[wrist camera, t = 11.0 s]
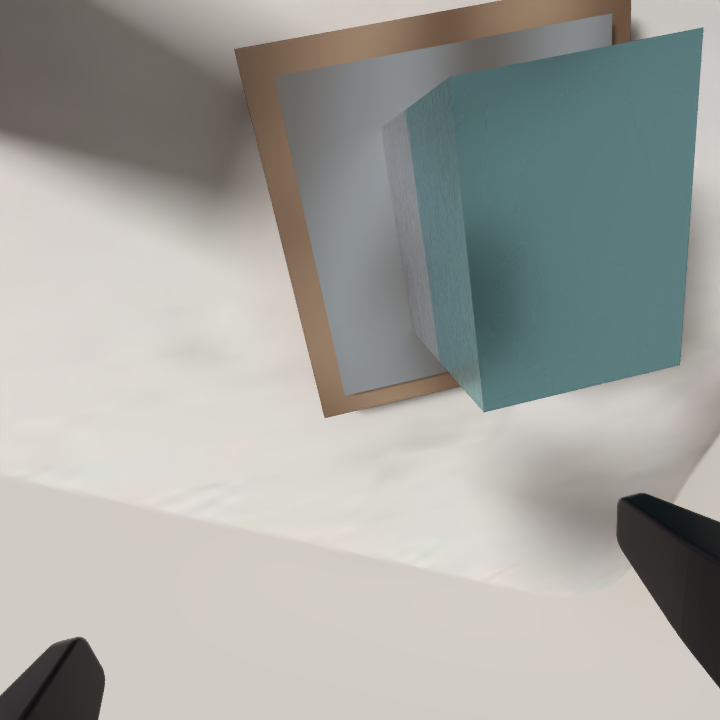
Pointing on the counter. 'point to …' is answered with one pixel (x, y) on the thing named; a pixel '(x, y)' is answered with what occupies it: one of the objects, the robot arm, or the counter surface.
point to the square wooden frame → (377, 169)
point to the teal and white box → (550, 217)
